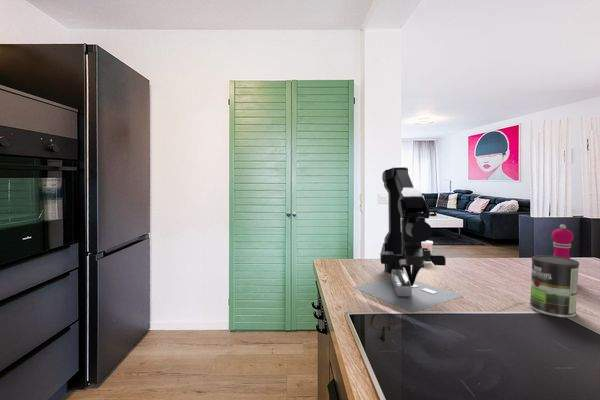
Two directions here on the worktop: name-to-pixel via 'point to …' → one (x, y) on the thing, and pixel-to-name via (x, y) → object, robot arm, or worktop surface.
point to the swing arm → (401, 283)
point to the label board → (419, 298)
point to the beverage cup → (427, 246)
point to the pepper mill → (562, 241)
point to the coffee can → (554, 285)
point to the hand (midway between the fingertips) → (411, 285)
